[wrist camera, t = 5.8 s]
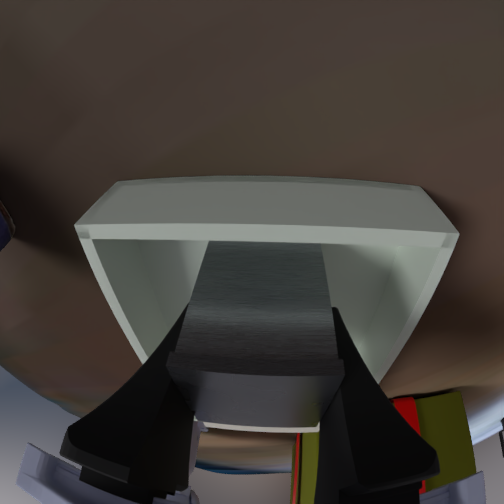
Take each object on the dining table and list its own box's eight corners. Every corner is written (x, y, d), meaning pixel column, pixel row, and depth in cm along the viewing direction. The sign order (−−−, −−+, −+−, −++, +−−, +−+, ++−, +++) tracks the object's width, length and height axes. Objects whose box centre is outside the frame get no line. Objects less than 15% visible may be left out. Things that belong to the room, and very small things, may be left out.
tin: (310, 311, 14) (316, 426, 9) (219, 308, 14) (197, 421, 10) (322, 235, 11) (344, 375, 6) (208, 233, 12) (165, 366, 7)
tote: (342, 388, 21) (345, 426, 19) (188, 382, 23) (180, 418, 20) (420, 186, 10) (459, 233, 8) (117, 181, 11) (74, 224, 9)
